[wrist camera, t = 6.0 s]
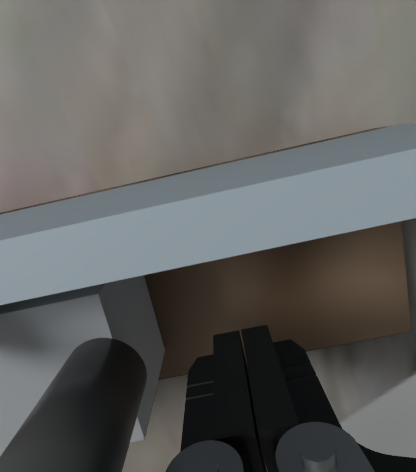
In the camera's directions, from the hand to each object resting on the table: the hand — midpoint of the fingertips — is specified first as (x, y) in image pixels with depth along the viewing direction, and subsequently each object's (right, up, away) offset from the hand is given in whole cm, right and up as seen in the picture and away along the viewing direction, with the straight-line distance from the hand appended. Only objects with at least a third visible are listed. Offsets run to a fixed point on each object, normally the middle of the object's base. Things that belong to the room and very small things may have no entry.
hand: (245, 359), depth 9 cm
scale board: (-4, +5, +5) cm, 8 cm away
